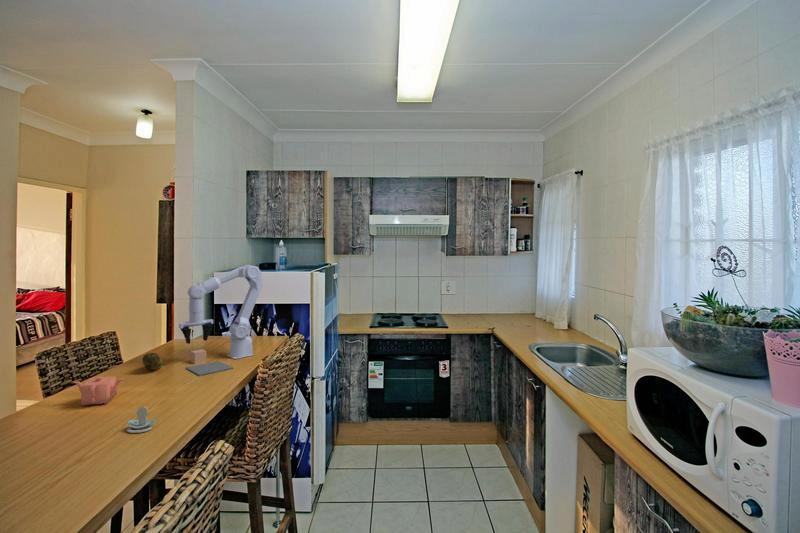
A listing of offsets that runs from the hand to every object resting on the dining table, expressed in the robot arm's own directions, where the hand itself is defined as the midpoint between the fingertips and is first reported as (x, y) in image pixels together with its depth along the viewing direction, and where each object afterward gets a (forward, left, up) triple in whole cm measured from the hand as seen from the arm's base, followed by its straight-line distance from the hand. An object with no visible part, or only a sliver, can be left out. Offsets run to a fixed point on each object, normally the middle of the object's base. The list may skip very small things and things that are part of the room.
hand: (196, 341), depth 184 cm
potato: (+17, -1, -10) cm, 20 cm away
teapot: (+41, +24, -10) cm, 48 cm away
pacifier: (+38, +57, -10) cm, 69 cm away
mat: (0, +14, -9) cm, 17 cm away
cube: (-1, 0, -10) cm, 10 cm away
